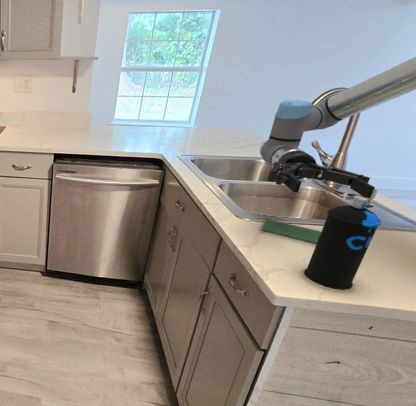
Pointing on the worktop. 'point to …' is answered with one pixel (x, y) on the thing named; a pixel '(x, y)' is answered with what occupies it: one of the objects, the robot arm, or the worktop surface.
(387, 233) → the worktop surface
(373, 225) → the aerosol can
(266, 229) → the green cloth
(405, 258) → the worktop surface
